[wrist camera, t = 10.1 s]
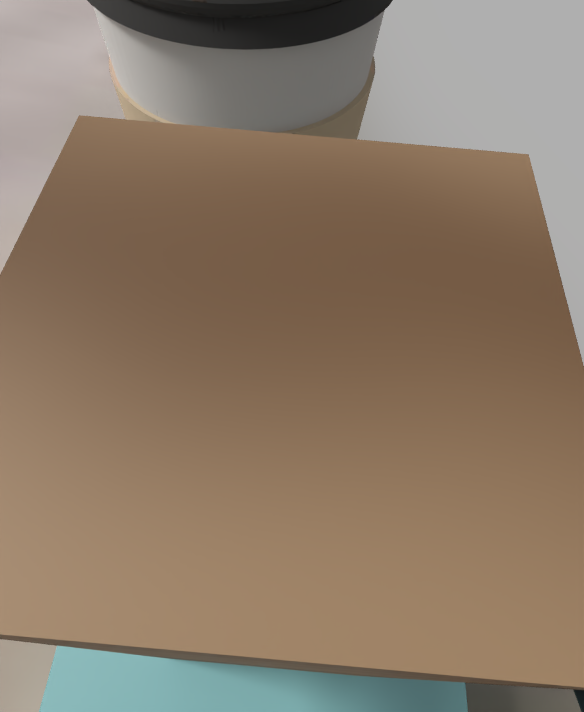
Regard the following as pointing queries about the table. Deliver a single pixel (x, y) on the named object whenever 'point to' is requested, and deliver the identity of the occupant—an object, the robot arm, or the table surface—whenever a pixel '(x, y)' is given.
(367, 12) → the coffee cup
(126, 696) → the base
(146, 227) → the block
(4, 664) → the table surface
